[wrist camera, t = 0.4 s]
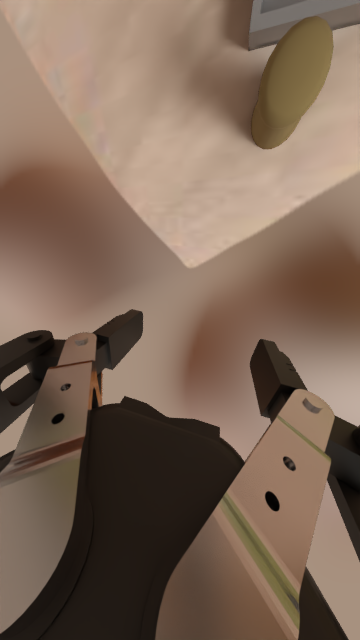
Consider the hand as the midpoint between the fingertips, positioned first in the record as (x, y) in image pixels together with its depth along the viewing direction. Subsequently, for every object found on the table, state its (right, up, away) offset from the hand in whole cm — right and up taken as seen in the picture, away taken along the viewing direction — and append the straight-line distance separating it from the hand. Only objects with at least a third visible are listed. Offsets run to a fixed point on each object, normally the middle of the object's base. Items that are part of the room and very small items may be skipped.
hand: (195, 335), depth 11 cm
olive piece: (+12, +28, +10) cm, 32 cm away
